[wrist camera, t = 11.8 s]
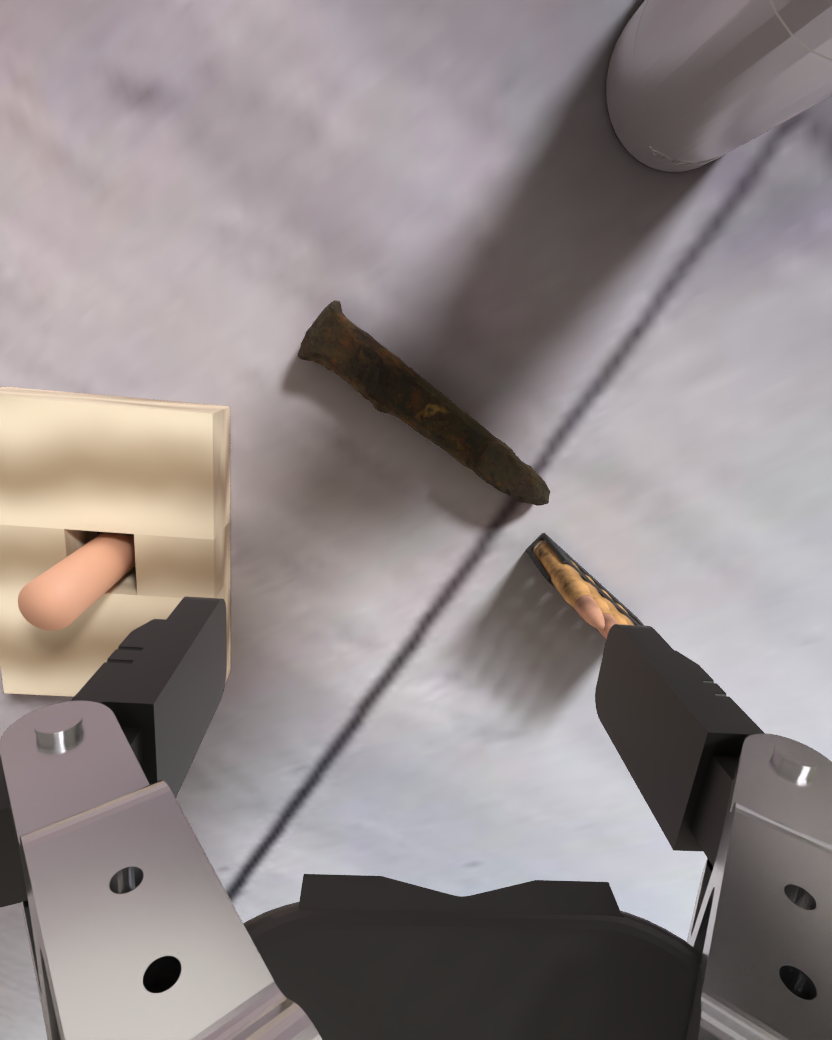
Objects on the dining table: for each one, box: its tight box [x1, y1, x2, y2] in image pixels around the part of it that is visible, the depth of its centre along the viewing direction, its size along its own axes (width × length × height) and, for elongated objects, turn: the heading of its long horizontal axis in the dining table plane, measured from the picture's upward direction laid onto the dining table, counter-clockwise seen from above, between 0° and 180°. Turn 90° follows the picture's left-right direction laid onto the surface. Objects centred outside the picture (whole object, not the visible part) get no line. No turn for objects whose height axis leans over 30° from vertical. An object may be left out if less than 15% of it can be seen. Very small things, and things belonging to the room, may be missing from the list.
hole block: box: [0, 387, 231, 697], centre depth 38 cm, size 20×14×4 cm
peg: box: [18, 532, 136, 631], centre depth 35 cm, size 3×3×10 cm
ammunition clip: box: [526, 533, 644, 639], centre depth 37 cm, size 11×2×12 cm, turn 48°
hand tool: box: [298, 301, 550, 505], centre depth 36 cm, size 19×4×5 cm, turn 51°
